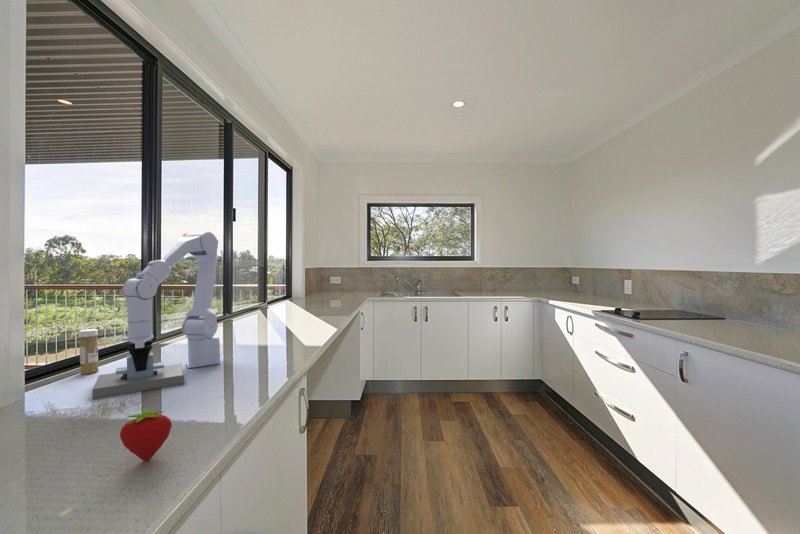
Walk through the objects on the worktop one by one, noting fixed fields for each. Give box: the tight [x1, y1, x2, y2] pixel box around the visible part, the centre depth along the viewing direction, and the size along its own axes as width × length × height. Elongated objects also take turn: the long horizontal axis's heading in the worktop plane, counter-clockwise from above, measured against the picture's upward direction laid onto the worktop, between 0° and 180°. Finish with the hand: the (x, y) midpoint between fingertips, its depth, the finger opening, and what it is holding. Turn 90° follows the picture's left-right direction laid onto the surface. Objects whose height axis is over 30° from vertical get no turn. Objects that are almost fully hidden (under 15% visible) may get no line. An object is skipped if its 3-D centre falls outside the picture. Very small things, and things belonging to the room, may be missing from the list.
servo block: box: [115, 352, 165, 380], centre depth 105 cm, size 11×4×7 cm, turn 123°
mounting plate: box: [92, 363, 185, 399], centre depth 105 cm, size 20×14×2 cm
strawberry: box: [119, 404, 173, 462], centre depth 65 cm, size 6×8×10 cm
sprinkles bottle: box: [78, 328, 100, 375], centre depth 117 cm, size 5×5×13 cm
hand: (141, 368), depth 105 cm, fingers closed on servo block, 4 cm apart
